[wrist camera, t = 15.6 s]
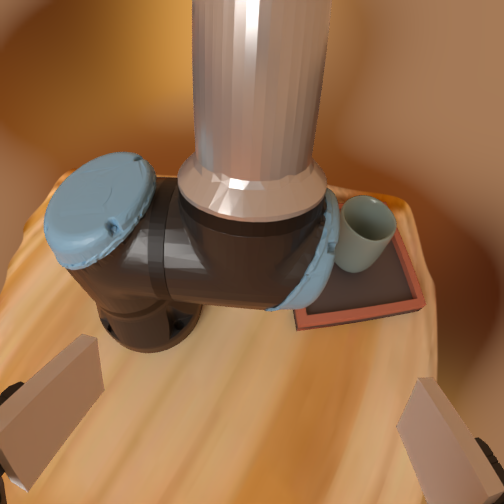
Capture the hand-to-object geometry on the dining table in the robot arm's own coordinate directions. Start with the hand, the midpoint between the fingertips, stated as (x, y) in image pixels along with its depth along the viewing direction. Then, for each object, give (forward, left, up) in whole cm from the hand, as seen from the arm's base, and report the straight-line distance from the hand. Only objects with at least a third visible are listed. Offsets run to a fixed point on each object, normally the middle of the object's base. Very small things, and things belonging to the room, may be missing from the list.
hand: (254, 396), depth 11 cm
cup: (-21, +18, -27) cm, 39 cm away
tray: (-21, +18, -28) cm, 40 cm away
